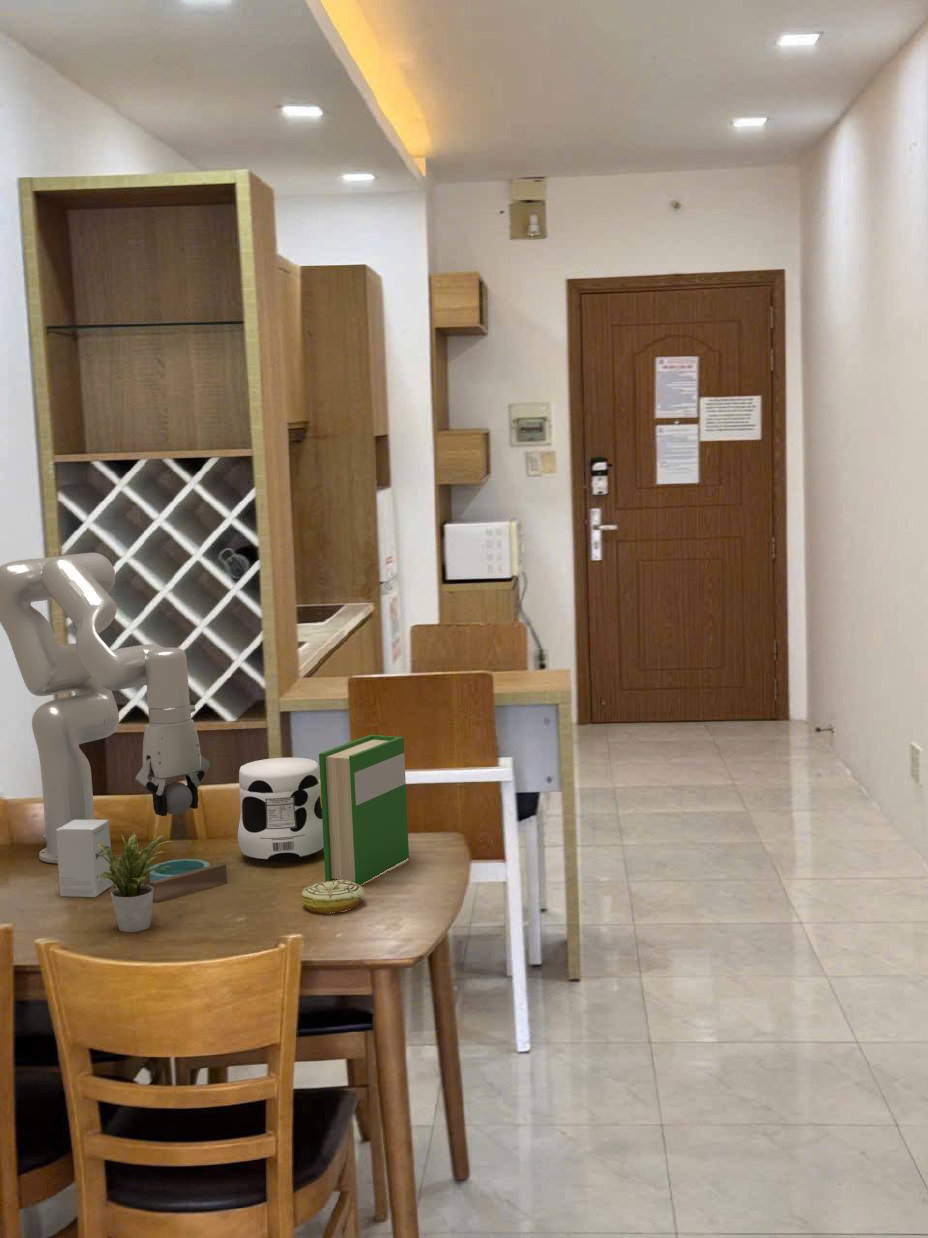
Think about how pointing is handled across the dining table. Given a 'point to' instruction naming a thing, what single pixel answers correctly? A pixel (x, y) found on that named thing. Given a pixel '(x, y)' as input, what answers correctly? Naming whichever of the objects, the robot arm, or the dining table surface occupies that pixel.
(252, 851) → the milk container
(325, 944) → the dining table surface
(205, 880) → the brown wooden bar
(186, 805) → the charcoal ball
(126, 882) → the house plant
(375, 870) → the hardback book
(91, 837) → the supplement box
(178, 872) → the teal dish
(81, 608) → the robot arm
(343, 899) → the decorated donut
